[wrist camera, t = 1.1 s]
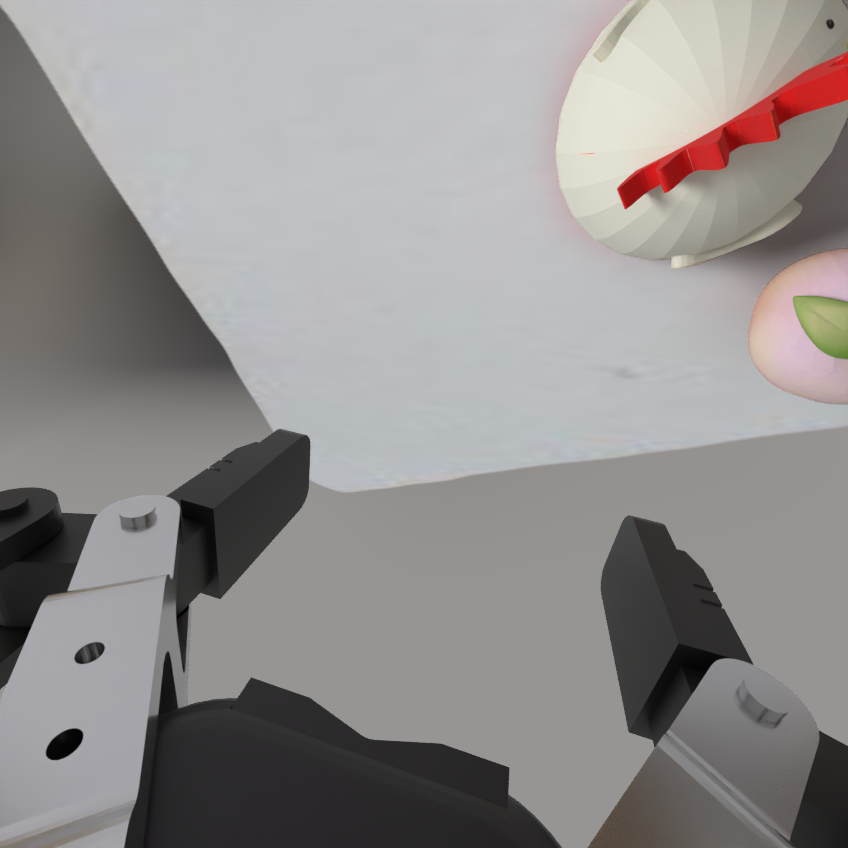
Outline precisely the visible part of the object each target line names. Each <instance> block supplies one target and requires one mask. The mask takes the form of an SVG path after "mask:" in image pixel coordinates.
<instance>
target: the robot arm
mask: <svg viewBox="0 0 848 848" xmlns="http://www.w3.org/2000/svg"><path fill="white" fill-rule="evenodd" d="M309 467H310V439H309V437H308V436H307V435H303V434H299V433H295V432H291V431H287V430H283V429H278V430H276V431H275V432H274V433H272V434H271V435H269V436H268V437H267V438H265V439H264V440H262V441H261V442H260V443H258V442H255V443H252V444H249V445H246V446H243V447H240V448H237V449H235V450H234V451H232V452H231V453H229V454H228V455H226V456H225V457H223V458H222V461H220V460H219V461H217V462H216V463H215V464H213V465H212V466H210V469H206V470H204V471H203V472H201V473H200V474H198V475H197V476H195V477H194V478H192V479H191V480H189V481H188V482H187V483H185V484H183V485H182V486H181V487H179V488H178V489H176V490H175V491H173V492H172V493H170V494H169V495H167V496H162V495H140V496H134V497H130V498H127V499H123V500H120V501H118V502H115V503H114V504H111V505H109V506H108V507H106V508H105V509H103V510H102V511H101V512H100V513H99V514H74V513H61V509H60V505H59V501H58V498H57V496H56V494H55V493H54V492H52V491H50V490H47V489H42V488H18V489H11V490H6V491H2V492H0V689H1V688H2V687H3V686H5V685H6V684H7V686H6V688H5V691H4V693H3V695H2V698H1V700H0V848H561V846H560V845H559V843H558V842H557V841H556V840H555V838H554V837H553V836H552V834H551V833H550V832H549V831H548V830H547V829H546V828H545V826H543V824H542V823H541V822H540V821H539V820H538V819H537V818H536V817H535V816H534V815H533V814H532V813H531V812H530V811H528V810H527V809H526V808H525V807H524V806H523V805H522V804H521V803H519V802H518V801H516V800H515V799H514V798H512V797H511V796H510V795H508V785H509V783H508V782H509V767H506V766H503V765H500V764H498V763H495V762H492V761H489V760H486V759H483V758H480V757H477V756H475V755H472V754H469V753H466V752H463V751H460V750H457V749H454V748H452V747H449V746H446V745H443V744H436V743H418V742H401V741H383V740H371V739H368V738H365V737H363V736H362V735H360V734H359V733H357V732H356V731H355V730H353V729H352V728H350V727H349V726H348V725H346V724H345V723H344V722H342V721H341V720H340V719H338V718H337V717H335V716H334V715H333V714H331V713H330V712H329V711H327V710H326V709H324V708H323V707H322V706H320V705H319V704H317V703H316V702H315V701H313V700H312V699H311V698H308V697H305V696H303V695H300V694H297V693H294V692H291V691H288V690H285V689H283V688H279V687H277V686H274V685H271V684H268V683H265V682H263V681H260V680H257V679H253V678H251V679H250V680H249V682H248V683H247V685H246V686H245V688H244V689H243V691H242V692H241V694H240V695H239V697H238V698H226V699H214V700H208V701H203V702H198V703H194V704H191V705H188V671H189V653H190V634H191V633H190V632H191V617H192V609H191V602H192V601H193V600H194V599H195V597H197V595H198V594H199V593H203V594H206V595H209V596H212V597H215V598H219V599H221V598H222V597H223V595H224V594H225V593H226V592H227V591H228V590H229V589H230V588H231V586H232V585H233V584H234V583H235V582H236V581H237V580H238V579H239V577H240V576H241V575H242V574H243V573H244V572H245V571H246V570H247V568H248V567H249V566H250V565H251V564H252V563H253V562H254V561H255V559H256V558H257V557H258V556H259V555H260V554H261V553H262V552H263V550H264V549H265V548H266V547H267V546H268V545H269V544H270V543H271V541H272V540H273V539H274V538H275V537H276V536H277V535H278V534H279V532H280V531H281V530H282V529H283V528H284V527H285V526H286V525H287V523H288V522H289V521H290V520H291V519H292V518H293V517H294V516H295V514H296V513H297V512H298V511H299V510H300V509H301V507H302V505H303V504H304V502H305V500H306V497H307V493H308V489H309ZM601 594H602V599H603V604H604V609H605V614H606V620H607V625H608V630H609V635H610V640H611V644H612V650H613V655H614V660H615V665H616V670H617V675H618V680H619V685H620V690H621V695H622V701H623V705H624V711H625V715H626V720H627V726H628V730H629V732H630V733H633V734H636V735H639V736H642V737H645V738H648V739H651V740H653V743H654V747H655V748H654V750H653V752H652V753H651V754H650V756H649V757H648V759H647V760H646V762H645V763H644V765H643V766H642V768H641V769H640V771H639V772H638V774H637V775H636V777H635V778H634V780H633V781H632V783H631V784H630V786H629V787H628V789H627V790H626V791H625V793H624V794H623V796H622V797H621V799H620V801H619V802H618V803H617V805H616V806H615V808H614V809H613V811H612V812H611V814H610V815H609V817H608V818H607V820H606V821H605V823H604V824H603V826H602V827H601V829H600V830H599V832H598V833H597V835H596V836H595V838H594V839H593V841H592V842H591V843H590V845H589V847H588V848H848V746H847V745H845V744H843V743H841V742H839V741H837V740H835V739H833V738H832V737H830V736H828V735H826V734H824V733H822V732H821V731H819V730H818V727H817V724H816V722H815V720H814V718H813V716H812V714H811V713H810V711H809V710H808V709H807V707H806V706H805V705H804V704H803V703H802V701H801V700H800V699H799V698H798V697H797V696H796V695H795V694H794V693H793V692H792V691H791V690H790V689H789V688H788V687H787V686H785V685H784V684H783V683H782V682H780V681H779V680H778V679H776V678H775V677H774V676H772V675H770V674H769V673H767V672H766V671H764V670H762V669H760V668H758V667H757V666H754V665H753V663H752V661H751V659H750V657H749V655H748V653H747V651H746V649H745V648H744V646H743V644H742V642H741V640H740V638H739V636H738V634H737V632H736V631H735V629H734V627H733V625H732V623H731V621H730V619H729V617H728V616H727V614H726V612H725V610H724V609H722V604H721V602H720V600H719V598H718V596H717V595H716V593H715V592H713V587H712V585H711V584H710V582H709V579H708V578H707V576H706V574H705V572H704V570H703V569H702V568H701V567H700V566H699V565H698V564H697V563H696V562H695V561H694V560H693V559H692V558H691V557H690V556H689V555H688V554H687V553H686V552H685V551H681V550H677V549H676V547H675V545H674V543H673V541H672V539H671V537H670V535H669V533H668V531H667V528H666V526H665V525H664V524H662V523H658V522H654V521H650V520H646V519H642V518H638V517H633V516H627V517H625V519H624V520H623V522H622V524H621V527H620V529H619V531H618V534H617V537H616V539H615V541H614V543H613V546H612V548H611V551H610V553H609V556H608V558H607V560H606V563H605V565H604V569H603V572H602V579H601Z"/></svg>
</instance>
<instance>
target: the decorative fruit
mask: <svg viewBox="0 0 848 848" xmlns="http://www.w3.org/2000/svg"><path fill="white" fill-rule="evenodd" d="M748 344H749V351H750V356H751V359H752V361H753V363H754V365H755V366H756V368H757V369H758V371H759V372H760V373H761V374H762V375H763V376H764V377H765V378H766V379H767V380H768V381H769V382H770V383H771V384H773V385H775V386H776V387H778V388H780V389H782V390H784V391H786V392H789V393H792V394H794V395H797V396H800V397H803V398H806V399H809V400H813V401H816V402H821V403H828V404H848V248H843V249H834V250H829V251H824V252H821V253H817V254H814V255H811V256H808V257H806V258H804V259H801V260H799V261H797V262H795V263H793V264H792V265H790V266H788V267H787V268H785V269H784V270H782V271H781V272H780V273H779V274H777V275H776V276H775V277H774V278H773V279H772V280H771V281H770V282H769V283H768V284H767V286H766V287H765V288H764V290H763V291H762V293H761V295H760V296H759V298H758V300H757V302H756V305H755V307H754V310H753V314H752V317H751V321H750V326H749V335H748Z"/></svg>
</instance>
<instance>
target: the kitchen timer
mask: <svg viewBox="0 0 848 848" xmlns="http://www.w3.org/2000/svg"><path fill="white" fill-rule="evenodd" d="M847 117H848V9H847V8H846V6H845V5H844V3H843V2H842V0H631V1H630V2H629V3H628V4H627V5H626V6H625V7H624V8H623V9H622V10H621V11H620V12H619V13H618V15H617V16H616V17H615V18H614V19H613V20H612V21H611V22H610V23H609V24H608V25H607V26H606V27H605V28H604V29H603V30H602V32H601V33H600V35H599V37H598V38H597V40H596V41H595V43H594V44H593V46H592V47H591V49H590V51H589V52H588V54H587V55H586V57H585V58H584V60H583V61H582V63H581V65H580V66H579V68H578V69H577V71H576V73H575V76H574V78H573V81H572V84H571V86H570V89H569V92H568V94H567V97H566V100H565V102H564V105H563V108H562V110H561V113H560V121H559V128H558V136H557V143H556V151H555V153H556V161H557V170H558V178H559V186H560V189H561V191H562V193H563V196H564V198H565V200H566V202H567V205H568V207H569V209H570V212H571V214H572V216H573V218H574V219H575V220H576V221H577V222H578V223H579V224H580V225H581V226H582V227H583V229H584V230H585V231H586V232H587V233H588V234H589V235H590V236H591V237H592V239H594V240H596V241H598V242H599V243H601V244H603V245H605V246H607V247H608V248H610V249H612V250H614V251H616V252H617V253H619V254H622V255H627V256H632V257H637V258H642V259H647V260H663V259H672V260H671V267H672V268H673V269H679V268H686V267H690V266H694V265H696V264H699V263H702V262H705V261H708V260H710V259H713V258H715V257H718V256H721V255H723V254H726V253H728V252H731V251H733V250H736V249H738V248H741V247H743V246H746V245H749V244H751V243H754V242H757V241H759V240H762V239H764V238H766V237H768V236H770V235H772V234H774V233H775V232H777V231H779V230H780V229H782V228H783V227H785V226H786V225H788V224H789V223H790V222H791V221H793V220H794V219H795V218H796V217H797V216H798V215H799V214H800V213H801V211H802V209H803V206H801V205H800V204H799V203H798V202H797V201H795V200H794V198H795V197H796V196H798V195H799V194H800V193H801V192H802V191H803V190H804V189H805V187H806V186H807V184H808V183H809V182H810V180H811V179H812V178H813V176H814V175H815V174H816V172H817V171H818V170H819V168H820V167H821V166H822V164H823V163H824V162H825V160H826V159H827V158H828V156H829V155H830V154H831V152H832V151H833V148H834V146H835V144H836V142H837V139H838V137H839V135H840V133H841V131H842V128H843V126H844V124H845V122H846V120H847Z"/></svg>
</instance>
